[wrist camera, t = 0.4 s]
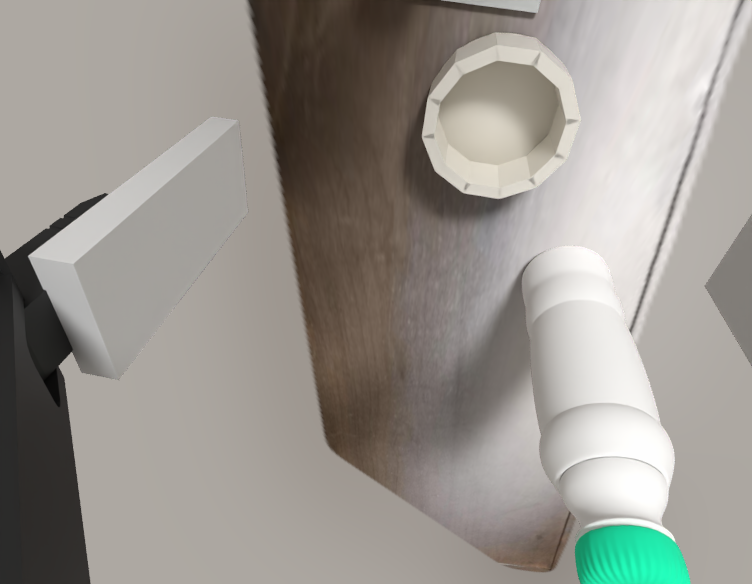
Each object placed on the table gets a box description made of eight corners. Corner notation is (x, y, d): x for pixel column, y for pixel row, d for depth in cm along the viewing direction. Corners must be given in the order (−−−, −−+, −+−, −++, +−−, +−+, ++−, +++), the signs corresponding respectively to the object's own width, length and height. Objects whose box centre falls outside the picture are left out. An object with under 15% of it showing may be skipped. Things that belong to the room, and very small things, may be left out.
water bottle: (513, 251, 41) (543, 559, 21) (604, 233, 38) (731, 562, 19) (528, 314, 44) (564, 624, 25) (612, 301, 42) (723, 633, 23)
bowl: (442, 23, 31) (437, 36, 28) (589, 43, 30) (602, 59, 27) (420, 160, 37) (414, 185, 34) (543, 179, 36) (549, 207, 33)
